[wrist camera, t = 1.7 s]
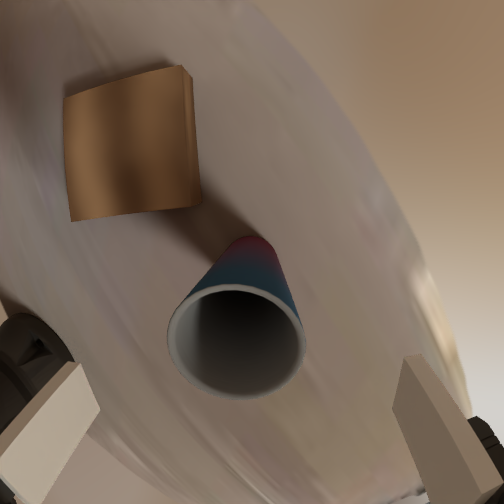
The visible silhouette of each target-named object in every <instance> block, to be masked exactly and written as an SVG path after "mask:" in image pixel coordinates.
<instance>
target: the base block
mask: <svg viewBox="0 0 504 504" xmlns="http://www.w3.org/2000/svg"><path fill="white" fill-rule="evenodd" d="M63 132H64V157H65V171H66V183H67V193H68V201H69V209H70V217H71V222H74V221H81V220H87V219H94V218H101V217H108V216H116V215H123V214H131V213H139V212H147V211H156V210H164V209H173V208H183V207H192V206H194V205H196V204H199V203H201V202H202V197H201V187H200V176H199V165H198V153H197V140H196V127H195V112H194V96H193V78H192V77H191V76H190V75H189V73H188V72H187V71H186V70H185V69H184V67H183V66H182V65H177V66H172V67H167V68H163V69H158V70H154V71H150V72H146V73H142V74H138V75H134V76H130V77H127V78H123V79H120V80H116V81H113V82H110V83H107V84H103V85H100V86H97V87H94V88H91V89H88V90H86V91H83V92H80V93H77V94H75V95H72V96H69V97H67V98H64V103H63Z"/></svg>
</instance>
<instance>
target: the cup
mask: <svg viewBox="0 0 504 504" xmlns="http://www.w3.org/2000/svg"><path fill="white" fill-rule="evenodd" d="M167 344H168V349H169V354H170V356H171V358H172V361H173V363H174V365H175V366H176V367H177V369H178V370H179V372H180V373H181V374H182V375H183V376H184V377H185V378H186V379H187V380H188V381H189V382H190V383H191V384H193V385H194V386H196V387H197V388H198V389H200V390H202V391H204V392H206V393H208V394H211V395H214V396H217V397H220V398H224V399H230V400H250V399H257V398H261V397H264V396H267V395H270V394H272V393H274V392H276V391H278V390H280V389H281V388H282V387H284V386H285V385H286V384H288V383H289V382H290V381H291V380H292V379H293V377H294V376H295V375H296V374H297V372H298V370H299V369H300V367H301V365H302V363H303V359H304V356H305V348H306V340H305V335H304V330H303V327H302V324H301V321H300V318H299V316H298V313H297V310H296V307H295V304H294V301H293V299H292V296H291V293H290V290H289V287H288V285H287V282H286V279H285V276H284V274H283V271H282V268H281V265H280V263H279V260H278V257H277V254H276V252H275V250H274V248H273V247H272V246H271V245H270V244H269V243H268V242H267V241H265V240H264V239H262V238H259V237H254V236H247V237H242V238H240V239H238V240H236V241H235V242H233V243H232V244H231V245H230V246H229V248H228V249H227V250H226V251H225V252H224V253H223V254H222V256H221V257H220V258H219V259H218V260H217V261H216V263H215V264H214V265H213V266H212V267H211V268H210V270H209V271H208V272H207V273H206V274H205V275H204V277H203V278H202V279H201V280H200V281H199V282H198V284H197V285H196V286H195V287H194V288H193V289H192V291H191V292H190V293H189V294H188V295H187V297H186V298H185V299H184V300H183V301H182V302H181V304H180V305H179V306H178V307H177V308H176V310H175V312H174V313H173V315H172V317H171V319H170V322H169V326H168V330H167Z"/></svg>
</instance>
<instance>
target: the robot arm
mask: <svg viewBox="0 0 504 504" xmlns="http://www.w3.org/2000/svg"><path fill="white" fill-rule="evenodd" d="M392 409H393V412H394V414H395V416H396V419H397V421H398V423H399V425H400V428H401V430H402V432H403V435H404V437H405V440H406V442H407V444H408V447H409V449H410V452H411V454H412V457H413V459H414V461H415V464H416V466H417V469H418V472H419V474H420V477H421V479H422V482H423V484H424V487H425V490H426V492H427V495H428V498H429V501H430V503H431V504H504V448H503V446H502V444H500V441H499V440H498V438H497V437H496V436H495V435H494V432H493V431H492V429H491V428H490V426H489V425H488V424H487V423H486V422H485V421H483V420H482V419H480V418H479V417H477V416H475V417H473V418H470V419H468V420H466V418H465V417H464V415H463V413H462V412H461V410H460V409H459V407H458V406H457V404H456V403H455V401H454V400H453V398H452V397H451V396H450V394H449V393H448V391H447V390H446V388H445V387H444V385H443V384H442V383H441V381H440V380H439V378H438V377H437V375H436V374H435V373H434V371H433V370H432V368H431V367H430V366H429V364H428V363H427V361H426V360H425V359H424V357H423V356H422V355H421V354H418V355H413V356H408V357H404V359H403V364H402V369H401V374H400V378H399V383H398V387H397V391H396V395H395V399H394V403H393V407H392ZM99 411H100V408H99V406H98V403H97V401H96V399H95V397H94V395H93V392H92V390H91V388H90V385H89V383H88V381H87V378H86V376H85V373H84V371H83V368H82V366H81V363H76V362H74V360H73V358H72V356H71V354H70V353H69V351H68V349H67V348H66V346H65V345H64V344H63V342H62V341H61V340H60V339H59V337H58V336H57V335H56V334H55V333H54V332H53V331H52V330H51V329H50V328H49V327H48V326H47V325H46V324H44V323H43V322H42V321H40V320H39V319H37V318H35V317H33V316H31V315H28V314H24V313H18V314H15V315H13V316H12V317H10V318H9V319H7V320H6V321H4V322H3V324H2V325H1V326H0V504H17V503H16V500H15V499H14V498H13V497H14V496H15V495H16V496H17V497H18V498H19V499H20V500H21V501H22V502H23V503H25V504H42V502H43V500H44V499H45V497H46V495H47V494H48V492H49V490H50V489H51V487H52V485H53V484H54V482H55V480H56V479H57V477H58V475H59V474H60V472H61V471H62V469H63V467H64V466H65V464H66V463H67V461H68V459H69V458H70V456H71V454H72V453H73V451H74V450H75V448H76V447H77V445H78V443H79V442H80V440H81V439H82V437H83V436H84V434H85V433H86V431H87V430H88V428H89V427H90V425H91V423H92V422H93V420H94V419H95V417H96V416H97V414H98V413H99Z"/></svg>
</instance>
